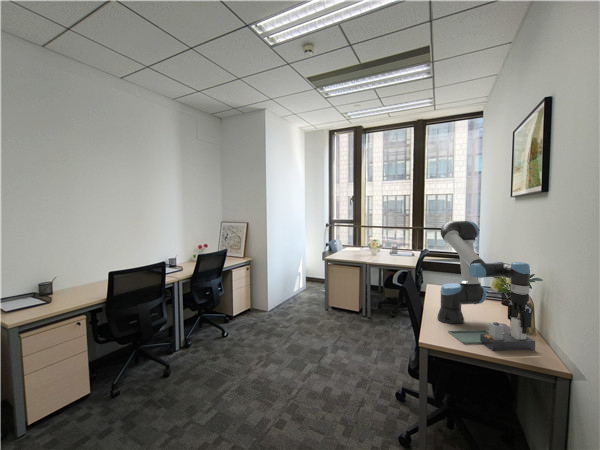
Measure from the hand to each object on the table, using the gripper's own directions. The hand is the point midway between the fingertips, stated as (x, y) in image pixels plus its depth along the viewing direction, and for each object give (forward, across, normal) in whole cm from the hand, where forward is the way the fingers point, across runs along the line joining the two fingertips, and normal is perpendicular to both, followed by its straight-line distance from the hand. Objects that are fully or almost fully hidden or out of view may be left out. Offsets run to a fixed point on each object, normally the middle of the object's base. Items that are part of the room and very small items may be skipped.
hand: (518, 336), depth 141 cm
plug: (+1, 0, 0) cm, 1 cm away
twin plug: (+3, 0, -12) cm, 12 cm away
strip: (+5, 0, -6) cm, 8 cm away
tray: (+5, -10, -16) cm, 20 cm away
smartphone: (+6, -21, +10) cm, 24 cm away
